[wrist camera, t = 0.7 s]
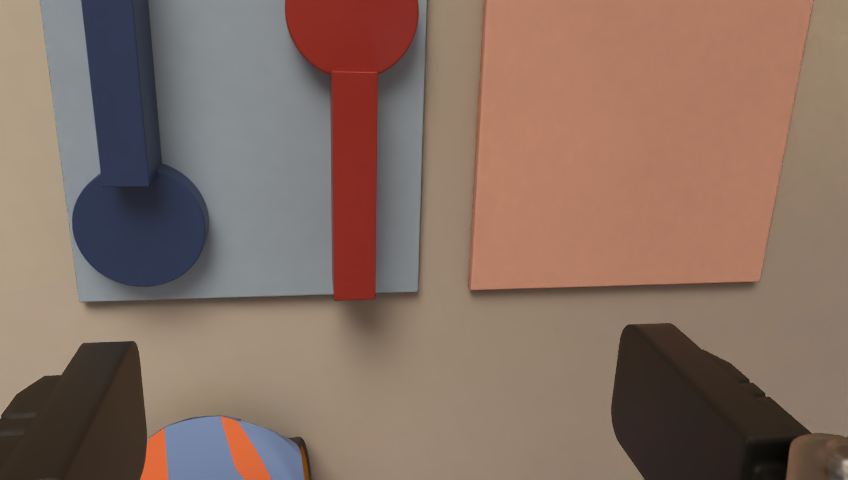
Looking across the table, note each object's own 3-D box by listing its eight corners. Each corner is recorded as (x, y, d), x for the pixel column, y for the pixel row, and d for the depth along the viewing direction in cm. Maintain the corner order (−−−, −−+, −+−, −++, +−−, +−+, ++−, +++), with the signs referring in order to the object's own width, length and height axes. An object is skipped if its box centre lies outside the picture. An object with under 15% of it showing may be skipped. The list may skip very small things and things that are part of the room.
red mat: (488, -82, 24) (490, -83, 23) (819, -65, 26) (826, -66, 25) (468, 286, 28) (470, 290, 28) (754, 278, 30) (760, 281, 29)
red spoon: (283, -62, 23) (281, -67, 21) (416, -56, 23) (427, -60, 21) (293, 278, 26) (292, 302, 24) (407, 275, 27) (416, 298, 25)
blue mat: (30, -105, 22) (25, -106, 21) (428, -85, 23) (429, -86, 23) (82, 298, 26) (78, 302, 25) (416, 288, 28) (418, 292, 27)
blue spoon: (213, 275, 26) (204, 299, 24) (87, 278, 25) (68, 303, 23) (190, -73, 22) (178, -80, 20) (43, -80, 22) (15, -87, 19)
